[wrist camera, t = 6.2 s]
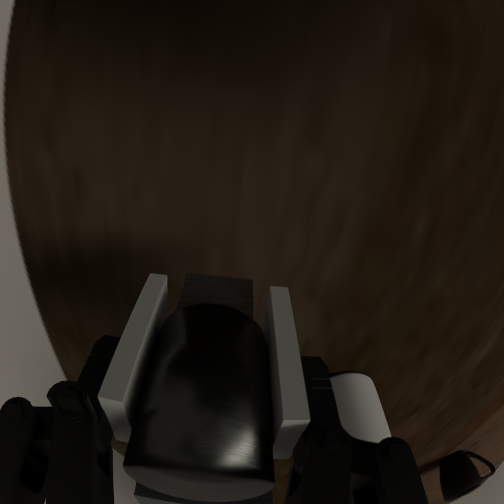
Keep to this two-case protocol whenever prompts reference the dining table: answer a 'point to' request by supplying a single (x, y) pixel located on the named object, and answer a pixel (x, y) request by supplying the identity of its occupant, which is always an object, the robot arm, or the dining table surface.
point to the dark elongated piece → (206, 399)
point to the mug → (460, 474)
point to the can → (359, 407)
